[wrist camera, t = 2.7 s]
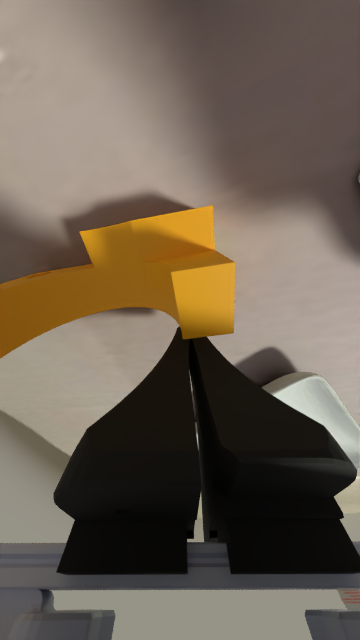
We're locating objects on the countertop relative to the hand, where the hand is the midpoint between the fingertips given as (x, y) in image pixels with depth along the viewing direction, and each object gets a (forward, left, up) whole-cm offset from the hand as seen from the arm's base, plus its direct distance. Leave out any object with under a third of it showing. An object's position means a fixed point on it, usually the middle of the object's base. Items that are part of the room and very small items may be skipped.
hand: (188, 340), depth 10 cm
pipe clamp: (+6, +1, -4) cm, 7 cm away
